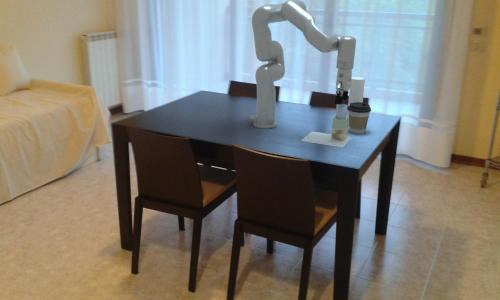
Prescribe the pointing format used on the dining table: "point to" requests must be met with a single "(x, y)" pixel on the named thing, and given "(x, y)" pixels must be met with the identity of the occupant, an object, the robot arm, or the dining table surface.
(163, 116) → the dining table surface
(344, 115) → the pale white cylinder
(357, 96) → the cylindrical container
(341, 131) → the bottom block
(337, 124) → the top block
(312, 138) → the white rectangular slab
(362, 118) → the coffee cup
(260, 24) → the robot arm
